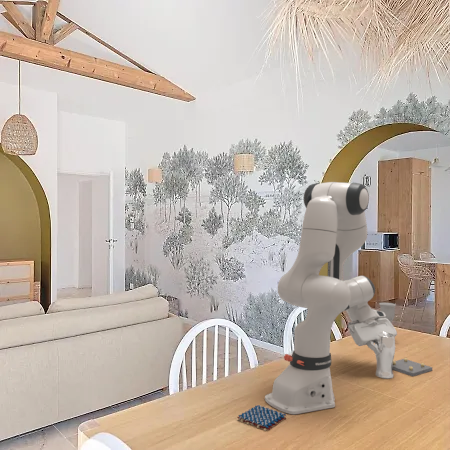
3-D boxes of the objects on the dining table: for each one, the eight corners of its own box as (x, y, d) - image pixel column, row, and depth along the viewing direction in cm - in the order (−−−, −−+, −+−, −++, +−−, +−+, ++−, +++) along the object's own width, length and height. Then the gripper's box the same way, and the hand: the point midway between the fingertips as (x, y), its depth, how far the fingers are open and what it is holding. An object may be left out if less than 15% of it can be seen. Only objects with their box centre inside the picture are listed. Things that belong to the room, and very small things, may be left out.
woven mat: (256, 409, 131) (257, 403, 131) (287, 420, 125) (287, 413, 125) (235, 422, 123) (235, 415, 123) (266, 434, 116) (266, 426, 116)
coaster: (412, 376, 158) (412, 369, 158) (384, 367, 169) (384, 360, 169) (432, 370, 165) (432, 364, 165) (404, 361, 175) (404, 355, 175)
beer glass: (391, 372, 162) (392, 332, 162) (397, 379, 155) (397, 337, 155) (372, 371, 163) (372, 331, 163) (376, 378, 156) (377, 336, 156)
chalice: (377, 344, 199) (378, 304, 199) (379, 340, 205) (380, 302, 205) (394, 346, 196) (395, 306, 196) (396, 342, 202) (397, 303, 202)
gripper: (350, 317, 159) (372, 351, 151) (386, 311, 170) (408, 342, 162) (340, 327, 163) (361, 361, 155) (377, 320, 174) (398, 351, 166)
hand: (386, 351), depth 159 cm, fingers closed on beer glass, 7 cm apart
